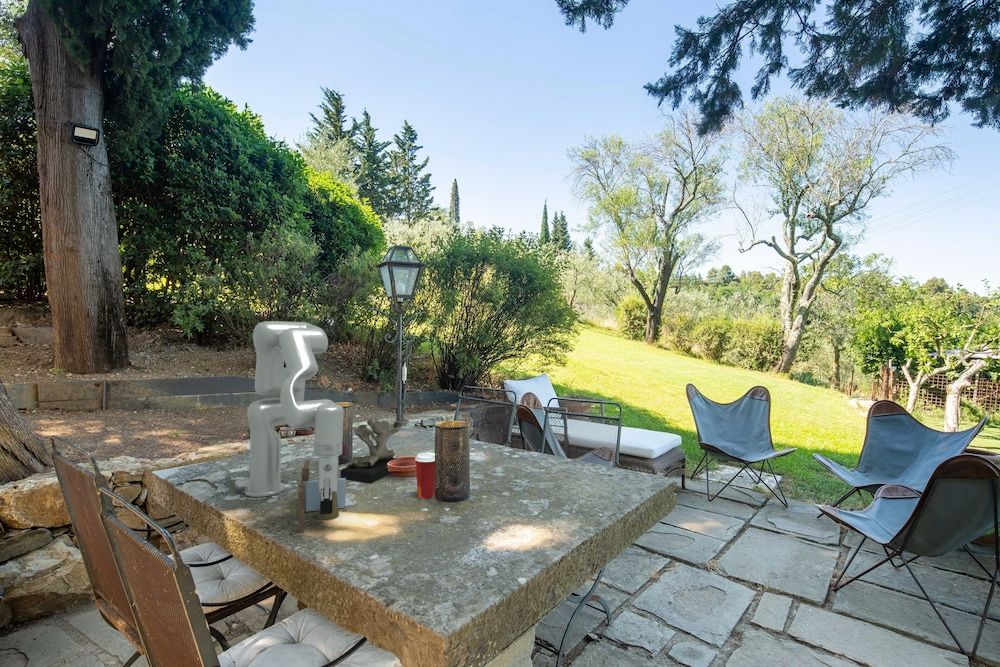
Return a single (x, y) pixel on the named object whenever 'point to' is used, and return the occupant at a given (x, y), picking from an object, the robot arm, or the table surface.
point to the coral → (373, 452)
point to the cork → (334, 509)
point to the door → (315, 496)
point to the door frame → (302, 496)
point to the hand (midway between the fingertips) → (326, 512)
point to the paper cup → (425, 475)
